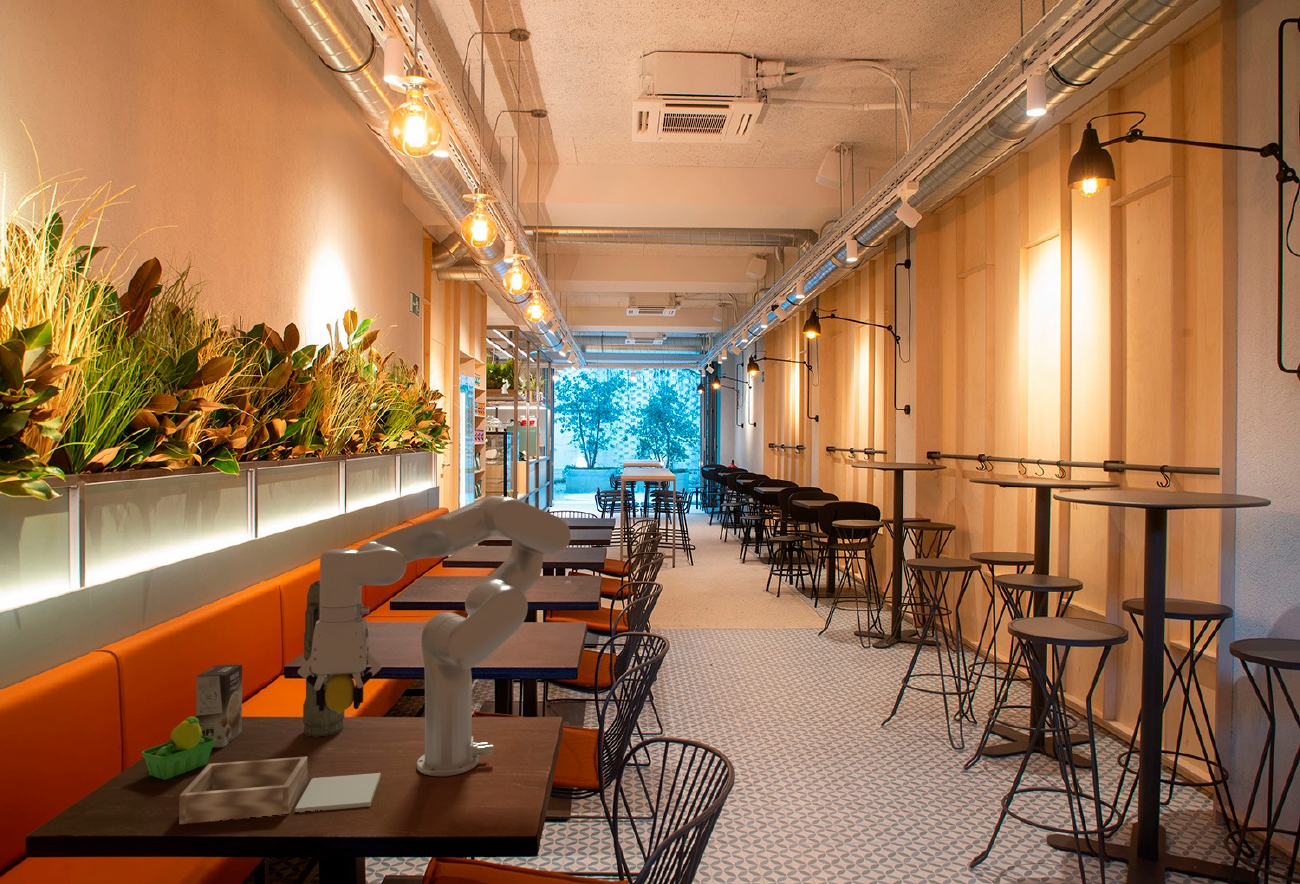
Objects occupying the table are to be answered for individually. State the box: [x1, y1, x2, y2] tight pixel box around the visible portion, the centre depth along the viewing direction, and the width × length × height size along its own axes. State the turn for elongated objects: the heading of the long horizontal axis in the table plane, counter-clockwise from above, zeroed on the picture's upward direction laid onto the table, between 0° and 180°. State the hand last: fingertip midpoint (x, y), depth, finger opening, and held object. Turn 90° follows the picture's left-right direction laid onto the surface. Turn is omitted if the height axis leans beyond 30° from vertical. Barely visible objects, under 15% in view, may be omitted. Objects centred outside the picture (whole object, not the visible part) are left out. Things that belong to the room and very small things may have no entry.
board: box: [294, 772, 382, 813], centre depth 146 cm, size 13×13×1 cm
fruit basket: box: [141, 716, 215, 781], centre depth 157 cm, size 11×9×11 cm
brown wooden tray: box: [178, 756, 309, 825], centre depth 143 cm, size 18×14×5 cm
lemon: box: [325, 674, 356, 714], centre depth 147 cm, size 6×6×8 cm
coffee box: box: [195, 663, 243, 748], centre depth 174 cm, size 9×6×16 cm
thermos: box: [302, 580, 345, 738], centre depth 180 cm, size 9×12×35 cm
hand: (340, 706), depth 147 cm, fingers closed on lemon, 5 cm apart
